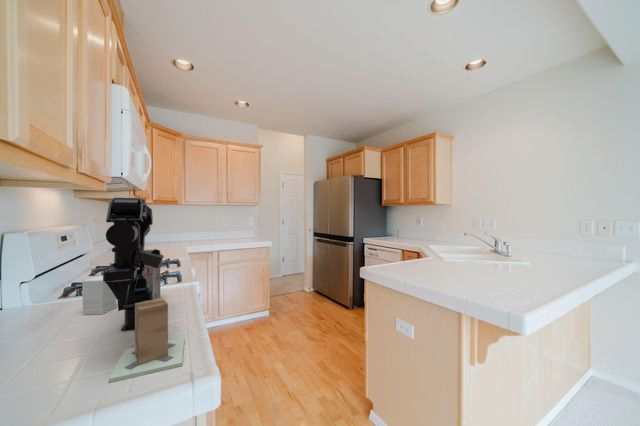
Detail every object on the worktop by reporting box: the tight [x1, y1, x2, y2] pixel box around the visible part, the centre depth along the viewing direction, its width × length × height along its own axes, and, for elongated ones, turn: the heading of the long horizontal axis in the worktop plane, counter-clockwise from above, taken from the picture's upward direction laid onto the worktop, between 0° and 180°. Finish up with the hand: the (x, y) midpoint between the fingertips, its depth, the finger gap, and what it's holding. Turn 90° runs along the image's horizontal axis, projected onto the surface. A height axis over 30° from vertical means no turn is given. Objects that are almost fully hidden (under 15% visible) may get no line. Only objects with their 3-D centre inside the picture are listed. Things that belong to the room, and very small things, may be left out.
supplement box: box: [81, 275, 118, 316], centre depth 99 cm, size 7×7×13 cm
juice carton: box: [143, 249, 161, 301], centre depth 108 cm, size 7×7×22 cm
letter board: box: [108, 337, 185, 383], centre depth 65 cm, size 14×14×1 cm
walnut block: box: [134, 297, 169, 365], centre depth 65 cm, size 6×6×13 cm
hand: (127, 299), depth 71 cm, fingers open, 9 cm apart
